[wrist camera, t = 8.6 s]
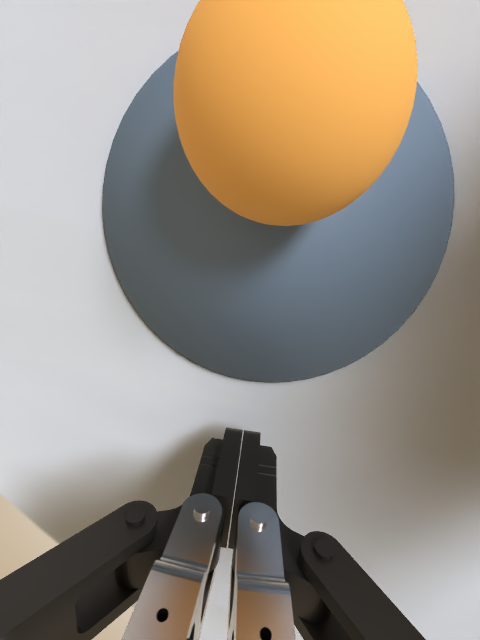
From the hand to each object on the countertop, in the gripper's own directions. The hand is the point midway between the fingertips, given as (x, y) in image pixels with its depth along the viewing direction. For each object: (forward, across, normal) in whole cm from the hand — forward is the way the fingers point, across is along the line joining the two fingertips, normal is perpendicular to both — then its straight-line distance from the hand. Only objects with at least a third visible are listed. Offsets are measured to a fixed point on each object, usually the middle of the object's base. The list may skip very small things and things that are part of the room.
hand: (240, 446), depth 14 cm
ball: (-2, 0, -12) cm, 12 cm away
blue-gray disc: (+2, 0, -9) cm, 9 cm away
